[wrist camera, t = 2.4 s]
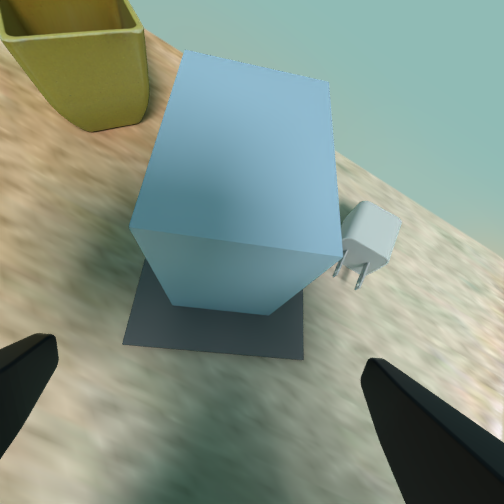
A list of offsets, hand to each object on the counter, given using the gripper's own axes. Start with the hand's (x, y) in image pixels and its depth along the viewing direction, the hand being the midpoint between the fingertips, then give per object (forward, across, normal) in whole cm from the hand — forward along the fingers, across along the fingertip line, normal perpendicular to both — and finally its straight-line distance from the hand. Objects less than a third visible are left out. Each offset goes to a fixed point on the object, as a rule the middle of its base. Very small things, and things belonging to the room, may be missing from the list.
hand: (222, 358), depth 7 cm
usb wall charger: (+16, -11, +2) cm, 19 cm away
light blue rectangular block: (+14, 0, +2) cm, 15 cm away
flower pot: (+25, +14, -8) cm, 29 cm away
